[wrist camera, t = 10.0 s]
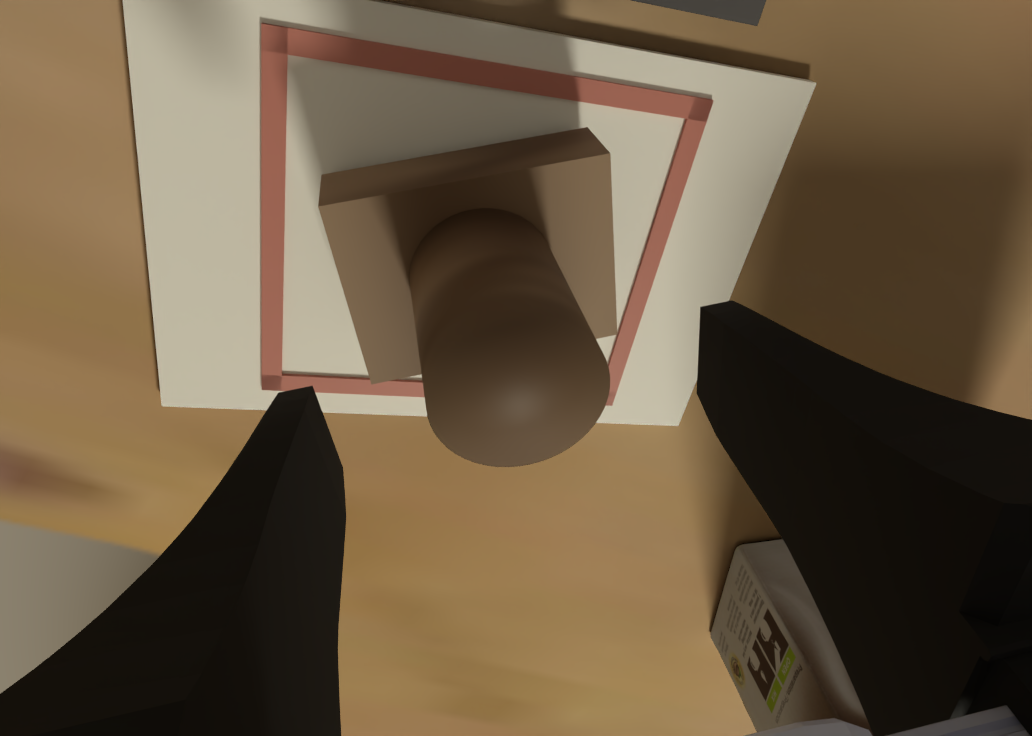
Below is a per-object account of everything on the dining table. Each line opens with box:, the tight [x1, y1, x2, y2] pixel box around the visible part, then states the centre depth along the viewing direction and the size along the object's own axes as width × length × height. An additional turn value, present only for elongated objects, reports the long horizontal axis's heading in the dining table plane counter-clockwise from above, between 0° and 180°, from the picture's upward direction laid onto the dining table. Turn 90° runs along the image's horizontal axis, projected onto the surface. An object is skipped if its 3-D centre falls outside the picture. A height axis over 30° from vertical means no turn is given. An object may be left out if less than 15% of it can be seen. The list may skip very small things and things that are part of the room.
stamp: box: [318, 127, 617, 467], centre depth 15 cm, size 6×4×7 cm
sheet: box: [123, 0, 816, 426], centre depth 18 cm, size 15×10×1 cm
